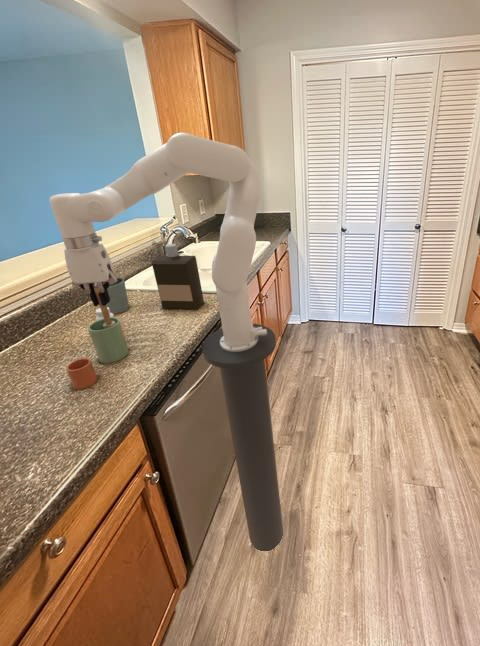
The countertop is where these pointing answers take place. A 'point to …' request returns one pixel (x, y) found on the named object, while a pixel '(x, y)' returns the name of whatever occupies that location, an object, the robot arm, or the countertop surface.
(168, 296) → the bottle
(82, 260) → the robot arm
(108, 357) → the tumbler
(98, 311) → the supplement bottle
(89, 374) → the holder
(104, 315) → the brush
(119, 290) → the blue-gray pot
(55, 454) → the countertop surface
